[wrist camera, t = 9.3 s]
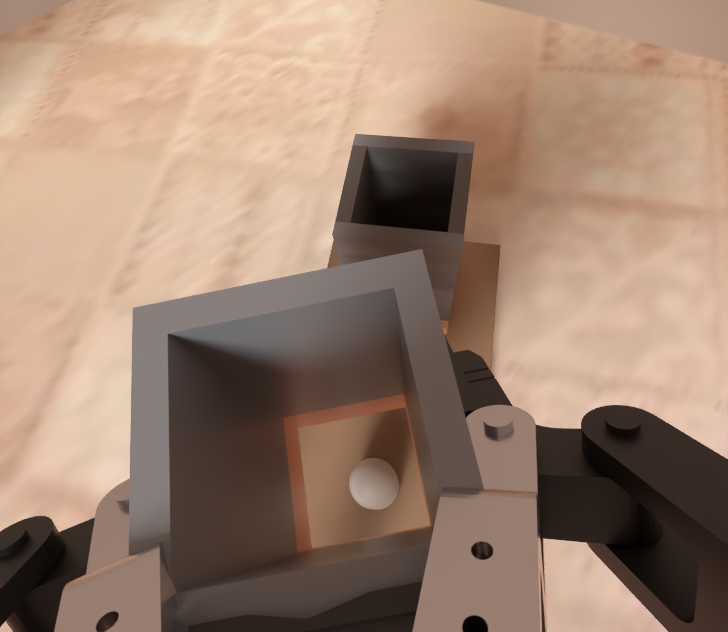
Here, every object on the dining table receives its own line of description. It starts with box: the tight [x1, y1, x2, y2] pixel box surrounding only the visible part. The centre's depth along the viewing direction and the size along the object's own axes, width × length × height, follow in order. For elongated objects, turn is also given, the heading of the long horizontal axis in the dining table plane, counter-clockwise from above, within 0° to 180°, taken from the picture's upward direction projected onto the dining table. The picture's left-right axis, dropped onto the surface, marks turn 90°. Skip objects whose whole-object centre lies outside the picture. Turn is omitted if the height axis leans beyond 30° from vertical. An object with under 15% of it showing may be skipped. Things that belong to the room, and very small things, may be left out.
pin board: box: [298, 134, 500, 548], centre depth 23 cm, size 10×18×12 cm, turn 170°
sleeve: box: [129, 249, 484, 632], centre depth 11 cm, size 5×5×10 cm
